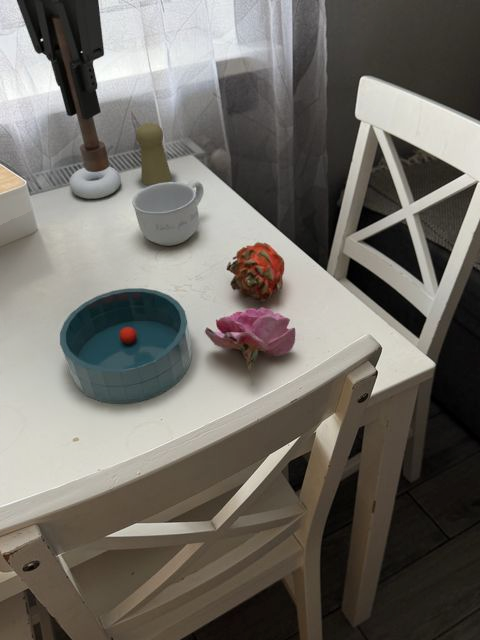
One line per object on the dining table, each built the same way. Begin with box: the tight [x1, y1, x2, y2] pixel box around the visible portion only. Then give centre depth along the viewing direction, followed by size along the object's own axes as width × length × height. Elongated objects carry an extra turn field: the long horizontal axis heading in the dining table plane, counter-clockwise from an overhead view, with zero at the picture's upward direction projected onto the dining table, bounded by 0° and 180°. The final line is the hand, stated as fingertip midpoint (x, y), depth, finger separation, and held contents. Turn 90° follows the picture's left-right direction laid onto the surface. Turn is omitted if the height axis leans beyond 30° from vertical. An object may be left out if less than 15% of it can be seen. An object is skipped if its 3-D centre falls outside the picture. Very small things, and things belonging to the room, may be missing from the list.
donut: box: [68, 166, 122, 200], centre depth 117 cm, size 10×4×10 cm
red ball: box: [119, 327, 137, 344], centre depth 84 cm, size 2×2×2 cm
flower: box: [204, 306, 296, 386], centre depth 80 cm, size 11×10×10 cm
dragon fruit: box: [226, 241, 285, 302], centre depth 91 cm, size 8×8×12 cm
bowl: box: [59, 287, 193, 405], centre depth 81 cm, size 17×17×6 cm
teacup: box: [131, 179, 204, 247], centre depth 103 cm, size 14×11×8 cm
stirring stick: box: [52, 14, 110, 172], centre depth 77 cm, size 3×3×19 cm
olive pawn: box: [135, 122, 173, 187], centre depth 117 cm, size 6×6×11 cm
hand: (84, 113), depth 78 cm, fingers closed on stirring stick, 2 cm apart
